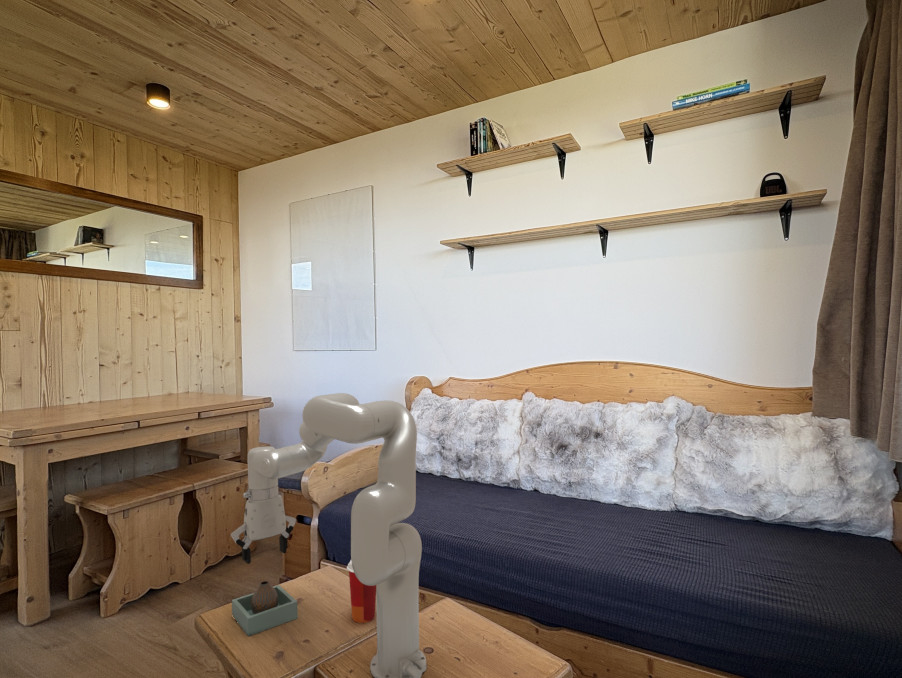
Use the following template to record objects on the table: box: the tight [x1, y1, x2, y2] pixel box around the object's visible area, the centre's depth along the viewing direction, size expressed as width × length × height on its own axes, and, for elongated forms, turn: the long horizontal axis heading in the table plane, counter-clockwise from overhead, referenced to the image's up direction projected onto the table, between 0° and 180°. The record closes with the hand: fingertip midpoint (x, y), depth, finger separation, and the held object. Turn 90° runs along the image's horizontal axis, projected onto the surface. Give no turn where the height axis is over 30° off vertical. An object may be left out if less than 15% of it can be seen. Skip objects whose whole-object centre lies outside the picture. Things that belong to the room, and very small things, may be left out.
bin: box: [231, 584, 299, 638], centre depth 137 cm, size 13×13×4 cm
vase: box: [251, 580, 278, 614], centre depth 137 cm, size 7×7×9 cm
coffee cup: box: [346, 560, 377, 624], centre depth 136 cm, size 8×8×15 cm
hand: (265, 557), depth 137 cm, fingers open, 9 cm apart
